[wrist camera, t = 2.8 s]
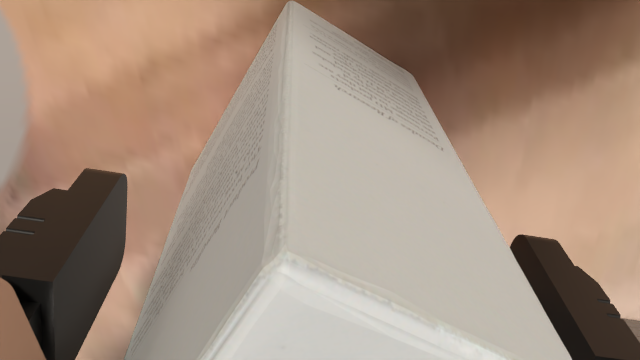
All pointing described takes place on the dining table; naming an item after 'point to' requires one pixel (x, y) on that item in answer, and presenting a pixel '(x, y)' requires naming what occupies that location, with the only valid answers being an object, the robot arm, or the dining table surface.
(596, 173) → the dining table surface
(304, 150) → the skincare box
